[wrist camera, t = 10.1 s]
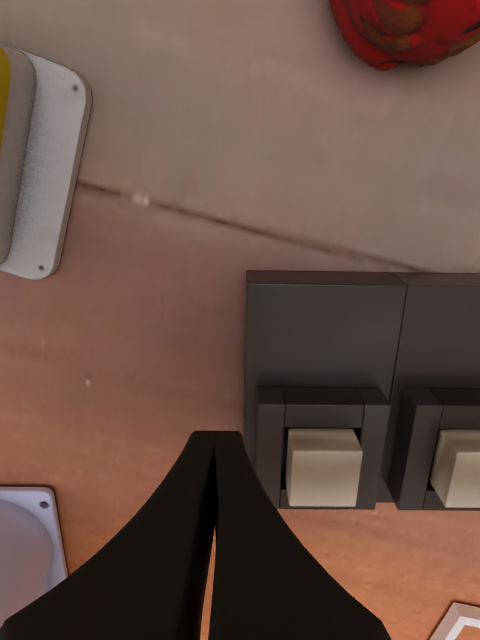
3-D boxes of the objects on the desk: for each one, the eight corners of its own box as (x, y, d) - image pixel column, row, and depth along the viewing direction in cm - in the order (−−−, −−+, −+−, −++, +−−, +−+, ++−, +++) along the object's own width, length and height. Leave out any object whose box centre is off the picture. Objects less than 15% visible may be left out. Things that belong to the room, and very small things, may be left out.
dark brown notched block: (480, 473, 25) (523, 527, 21) (361, 472, 25) (383, 527, 21) (531, 273, 21) (595, 297, 17) (389, 272, 21) (423, 295, 17)
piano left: (361, 472, 25) (383, 527, 21) (241, 471, 25) (243, 526, 21) (389, 272, 21) (423, 295, 17) (246, 270, 21) (248, 293, 17)
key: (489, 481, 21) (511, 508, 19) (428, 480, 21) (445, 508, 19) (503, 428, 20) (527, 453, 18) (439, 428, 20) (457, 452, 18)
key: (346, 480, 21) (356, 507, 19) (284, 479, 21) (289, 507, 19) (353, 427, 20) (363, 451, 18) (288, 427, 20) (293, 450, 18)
